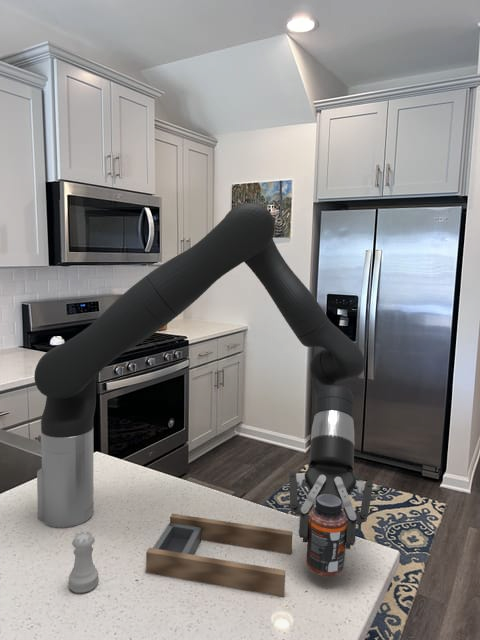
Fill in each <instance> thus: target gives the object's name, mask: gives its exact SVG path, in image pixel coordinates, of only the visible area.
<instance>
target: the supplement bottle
mask: <svg viewBox="0 0 480 640" xmlns="http://www.w3.org/2000/svg"><path fill="white" fill-rule="evenodd" d="M347 521H348V520H347V517H346V515H345V513H344V511H343V510H342V501H341V499H340V498H339V497H337V496H334V495H330V494H322V495H319V496H317V498H316V504H315V506H314V507H313V509H312V510H311V511H310V514H309V524H308V540H307V542H306V543H307V544H306V557H305V559H306V565H307V567H308V569H309V570H311V571H312V572H313V573H314V574H316V575H319V576H321V577H335V576H338V575H340V574H341V573H342V572H343V570H344V566H345V560H346V559H345V556H346V555H345V554H346V549H345V544H346V528H347Z"/></svg>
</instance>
